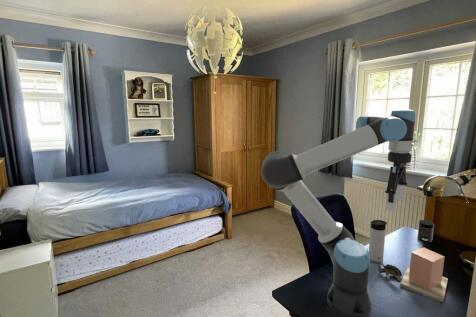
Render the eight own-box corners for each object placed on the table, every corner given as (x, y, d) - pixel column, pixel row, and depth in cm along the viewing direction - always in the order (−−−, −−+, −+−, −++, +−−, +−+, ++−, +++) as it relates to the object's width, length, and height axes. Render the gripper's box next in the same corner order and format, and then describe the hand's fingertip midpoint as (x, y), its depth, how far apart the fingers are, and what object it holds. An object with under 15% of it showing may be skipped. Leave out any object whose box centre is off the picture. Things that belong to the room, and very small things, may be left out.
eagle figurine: (378, 278, 111) (403, 281, 106) (376, 260, 114) (400, 262, 109) (380, 279, 117) (403, 282, 112) (378, 262, 119) (401, 264, 115)
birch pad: (443, 302, 98) (443, 299, 98) (400, 286, 107) (400, 283, 107) (447, 281, 109) (447, 278, 109) (408, 268, 119) (408, 265, 119)
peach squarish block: (441, 283, 106) (444, 256, 104) (429, 289, 103) (432, 261, 101) (420, 272, 113) (423, 247, 111) (408, 278, 110) (411, 252, 108)
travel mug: (382, 265, 122) (385, 225, 118) (366, 260, 126) (369, 221, 122) (384, 259, 127) (388, 220, 123) (369, 255, 130) (372, 217, 127)
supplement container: (430, 238, 145) (432, 221, 143) (433, 244, 139) (435, 225, 137) (416, 236, 148) (418, 219, 146) (418, 241, 142) (420, 223, 140)
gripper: (404, 157, 87) (398, 217, 91) (417, 148, 105) (412, 198, 109) (379, 155, 92) (375, 212, 96) (396, 146, 110) (392, 195, 114)
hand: (395, 205), depth 102 cm, fingers open, 13 cm apart
